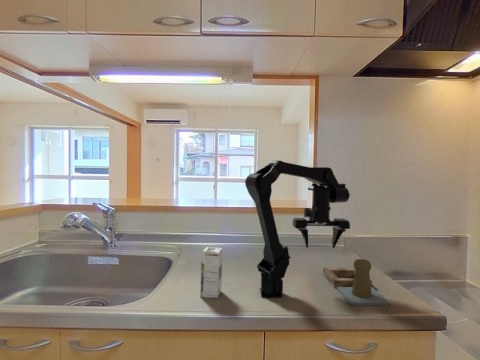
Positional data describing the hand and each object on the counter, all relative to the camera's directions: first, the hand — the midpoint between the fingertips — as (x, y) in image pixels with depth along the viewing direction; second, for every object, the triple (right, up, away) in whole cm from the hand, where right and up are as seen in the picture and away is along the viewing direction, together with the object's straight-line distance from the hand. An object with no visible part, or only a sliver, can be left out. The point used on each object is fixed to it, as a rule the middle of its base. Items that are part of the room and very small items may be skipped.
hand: (320, 247), depth 106 cm
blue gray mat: (+11, -14, -9) cm, 20 cm away
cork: (+11, -13, -9) cm, 19 cm away
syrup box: (-37, -13, -9) cm, 40 cm away
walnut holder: (+11, -13, +5) cm, 17 cm away
